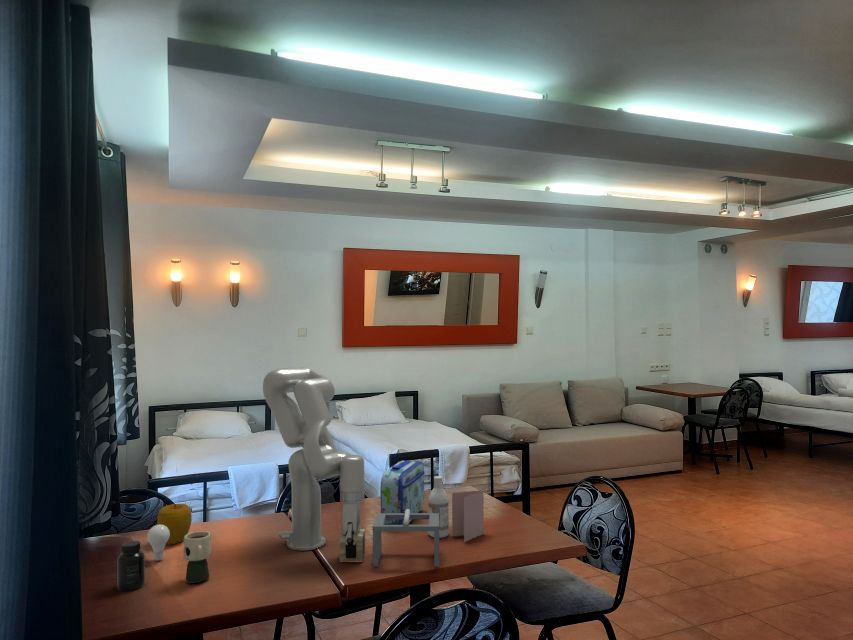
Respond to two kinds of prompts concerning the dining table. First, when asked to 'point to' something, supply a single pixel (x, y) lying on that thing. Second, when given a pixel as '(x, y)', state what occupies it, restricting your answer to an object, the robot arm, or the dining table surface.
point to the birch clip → (359, 546)
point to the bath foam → (439, 507)
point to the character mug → (197, 555)
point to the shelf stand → (380, 527)
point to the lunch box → (402, 489)
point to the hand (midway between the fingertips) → (352, 552)
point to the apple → (175, 521)
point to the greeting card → (468, 514)
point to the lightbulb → (158, 540)
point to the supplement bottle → (130, 567)
